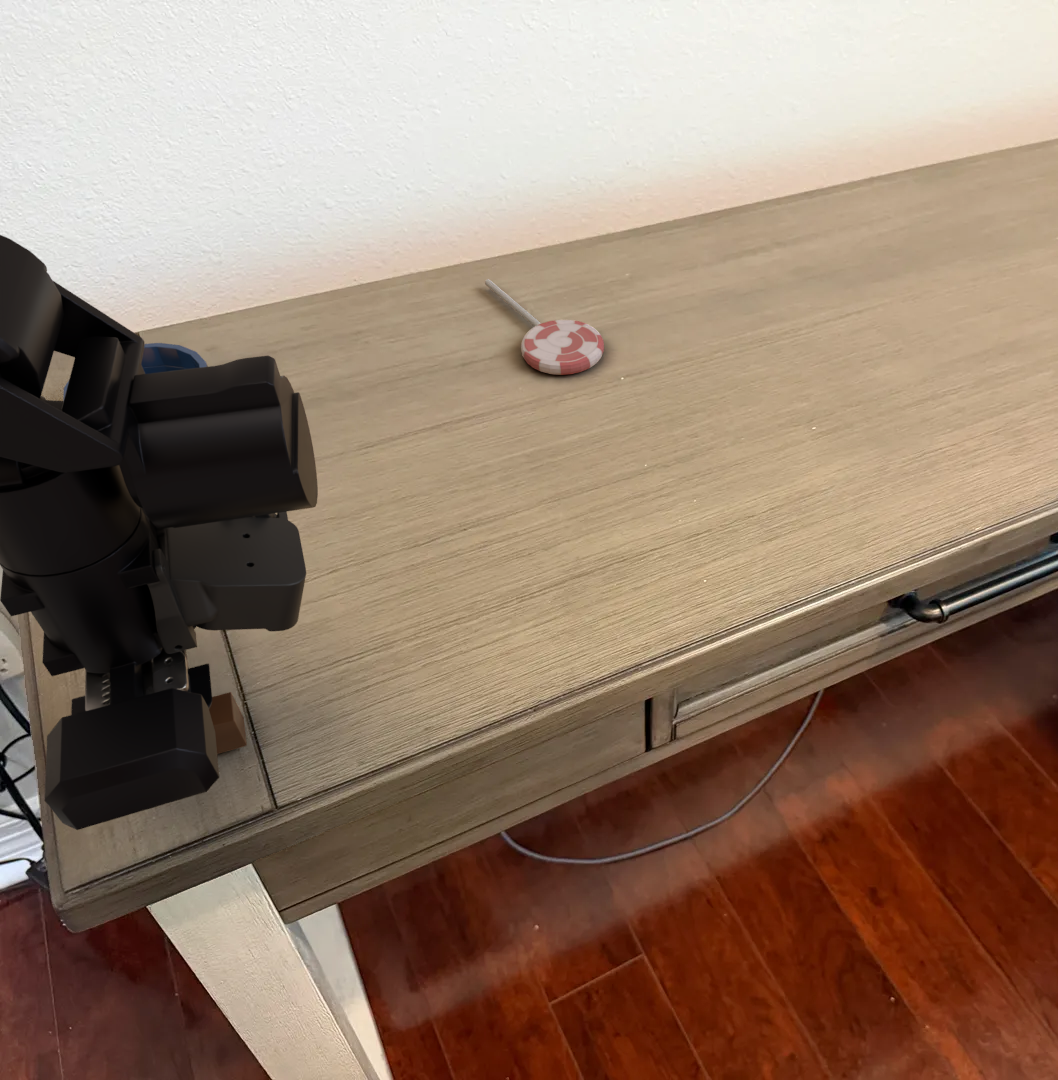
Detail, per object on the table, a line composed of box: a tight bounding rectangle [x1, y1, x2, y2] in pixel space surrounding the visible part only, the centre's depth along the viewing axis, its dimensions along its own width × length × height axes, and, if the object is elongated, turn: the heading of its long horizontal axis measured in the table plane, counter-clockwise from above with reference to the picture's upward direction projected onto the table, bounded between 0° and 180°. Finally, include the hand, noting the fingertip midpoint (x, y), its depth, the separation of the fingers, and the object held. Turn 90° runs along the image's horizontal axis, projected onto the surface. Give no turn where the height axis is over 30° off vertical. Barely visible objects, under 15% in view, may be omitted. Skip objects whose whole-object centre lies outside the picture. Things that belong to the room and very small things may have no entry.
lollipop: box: [484, 278, 605, 376], centre depth 85 cm, size 7×1×15 cm
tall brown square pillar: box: [209, 691, 248, 755], centre depth 55 cm, size 2×5×2 cm, turn 113°
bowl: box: [62, 342, 209, 401], centre depth 74 cm, size 9×9×4 cm
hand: (186, 736), depth 55 cm, fingers closed on tall brown square pillar, 2 cm apart
